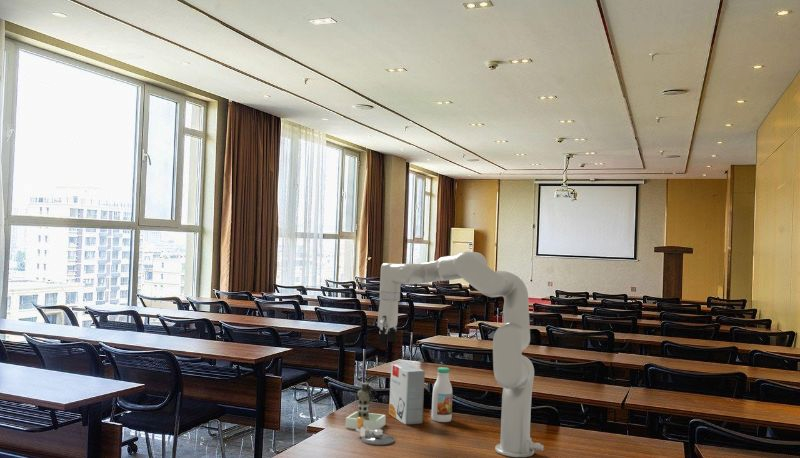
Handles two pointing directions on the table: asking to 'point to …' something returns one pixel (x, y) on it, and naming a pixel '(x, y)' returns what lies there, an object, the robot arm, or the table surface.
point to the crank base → (373, 440)
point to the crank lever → (376, 433)
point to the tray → (366, 421)
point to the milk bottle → (442, 397)
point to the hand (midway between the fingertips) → (387, 343)
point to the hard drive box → (406, 393)
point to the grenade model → (364, 400)
